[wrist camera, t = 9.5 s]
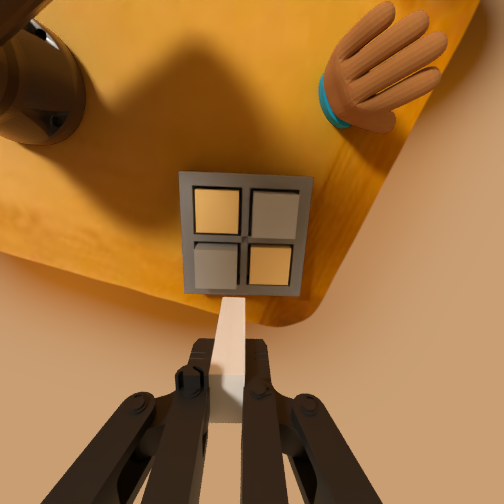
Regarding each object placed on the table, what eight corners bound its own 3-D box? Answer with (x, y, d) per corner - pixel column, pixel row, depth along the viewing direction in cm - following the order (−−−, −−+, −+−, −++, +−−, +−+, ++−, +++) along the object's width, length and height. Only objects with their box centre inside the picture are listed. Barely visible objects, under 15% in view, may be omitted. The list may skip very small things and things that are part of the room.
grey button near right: (251, 230, 38) (252, 237, 34) (252, 190, 36) (253, 193, 33) (290, 232, 38) (295, 239, 35) (293, 192, 37) (299, 195, 33)
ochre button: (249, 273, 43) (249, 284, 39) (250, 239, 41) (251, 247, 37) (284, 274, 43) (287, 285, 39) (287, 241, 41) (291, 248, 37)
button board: (190, 281, 44) (184, 293, 40) (185, 170, 38) (178, 171, 34) (294, 284, 45) (299, 296, 40) (306, 176, 39) (313, 177, 34)
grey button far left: (199, 277, 40) (195, 288, 37) (199, 241, 39) (194, 249, 35) (236, 278, 41) (236, 289, 37) (237, 242, 39) (237, 250, 35)
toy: (382, 131, 37) (468, 109, 23) (339, 154, 38) (396, 147, 24) (355, 43, 33) (437, -48, 19) (308, 71, 34) (352, 3, 20)
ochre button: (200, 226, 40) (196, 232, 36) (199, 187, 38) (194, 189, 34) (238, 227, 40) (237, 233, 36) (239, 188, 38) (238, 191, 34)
